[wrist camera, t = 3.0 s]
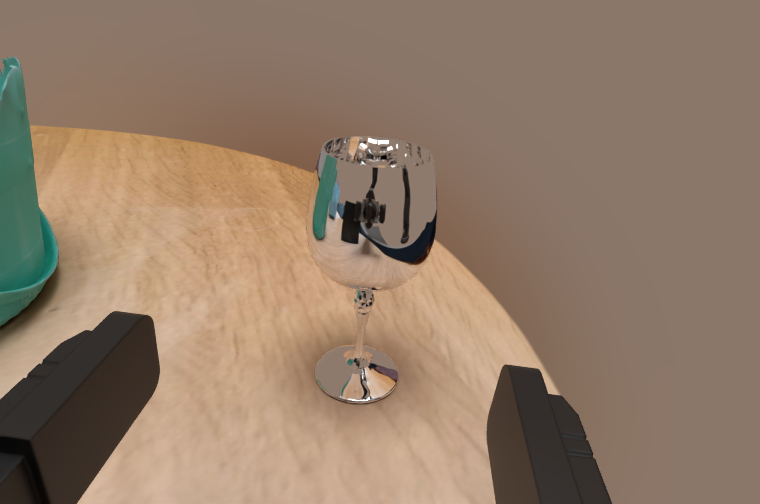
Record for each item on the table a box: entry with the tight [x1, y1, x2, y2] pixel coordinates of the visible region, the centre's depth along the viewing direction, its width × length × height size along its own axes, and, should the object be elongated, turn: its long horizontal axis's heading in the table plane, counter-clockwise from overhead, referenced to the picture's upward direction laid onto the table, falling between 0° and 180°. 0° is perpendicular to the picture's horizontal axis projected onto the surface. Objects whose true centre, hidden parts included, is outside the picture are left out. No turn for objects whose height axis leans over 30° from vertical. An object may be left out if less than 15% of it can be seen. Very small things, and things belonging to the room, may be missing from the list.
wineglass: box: [306, 136, 437, 403], centre depth 23 cm, size 6×6×12 cm
